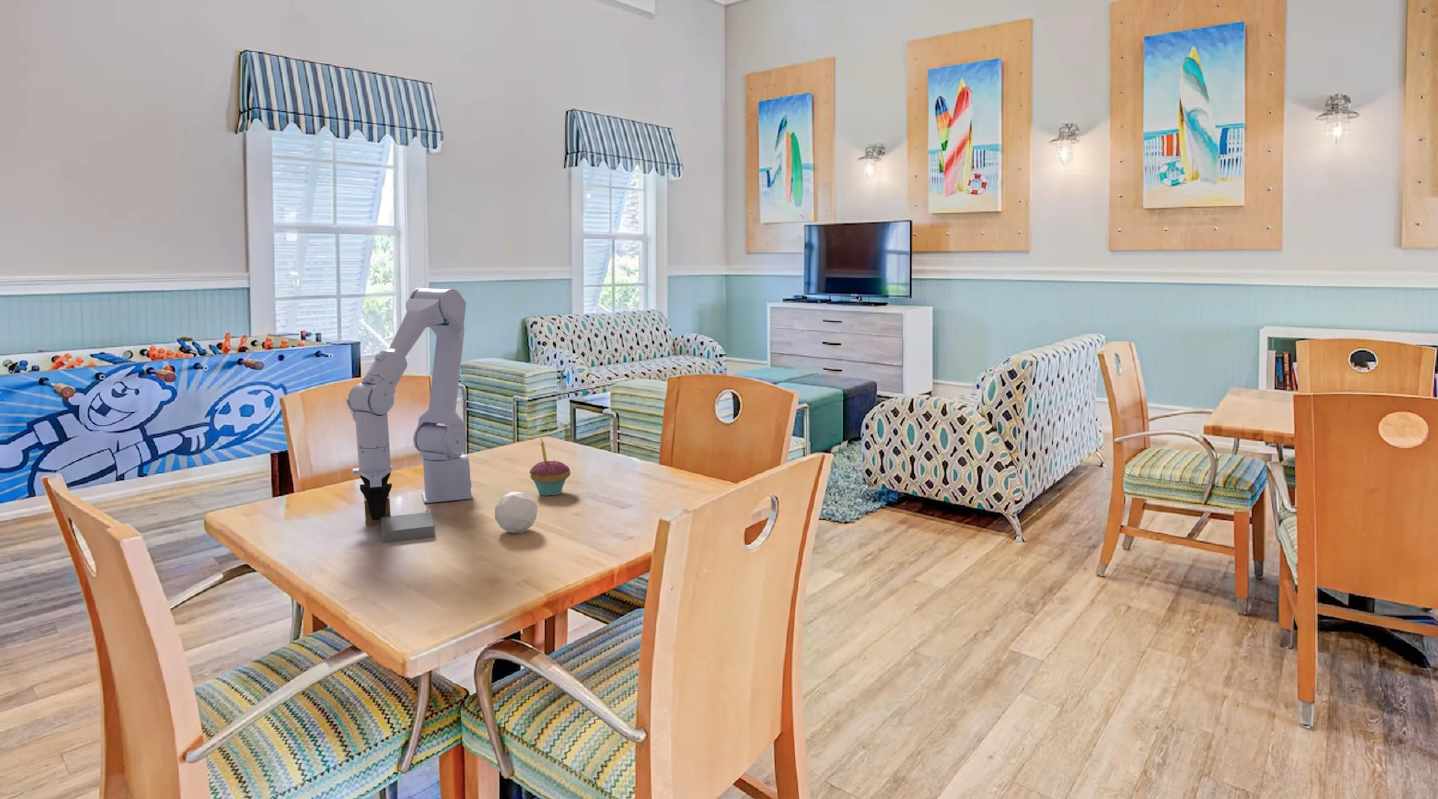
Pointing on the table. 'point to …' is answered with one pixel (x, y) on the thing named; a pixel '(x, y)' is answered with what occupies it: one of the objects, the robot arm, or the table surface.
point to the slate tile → (407, 527)
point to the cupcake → (549, 475)
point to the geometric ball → (515, 512)
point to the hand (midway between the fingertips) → (377, 513)
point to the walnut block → (368, 516)
